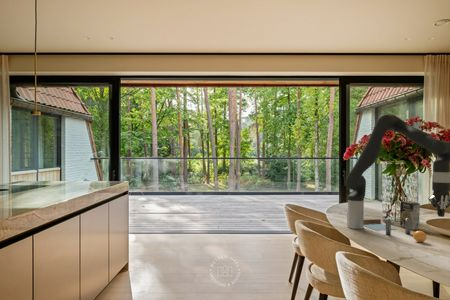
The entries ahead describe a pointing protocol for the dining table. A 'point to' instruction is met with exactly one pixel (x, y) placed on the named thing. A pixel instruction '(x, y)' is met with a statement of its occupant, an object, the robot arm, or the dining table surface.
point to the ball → (419, 236)
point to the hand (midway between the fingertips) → (440, 216)
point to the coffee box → (410, 213)
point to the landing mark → (377, 227)
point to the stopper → (372, 221)
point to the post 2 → (408, 226)
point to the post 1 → (388, 226)
